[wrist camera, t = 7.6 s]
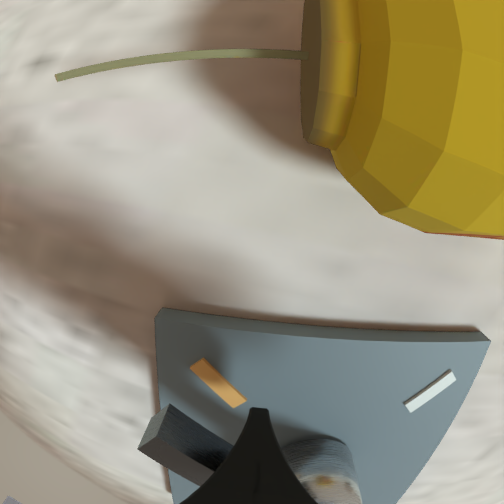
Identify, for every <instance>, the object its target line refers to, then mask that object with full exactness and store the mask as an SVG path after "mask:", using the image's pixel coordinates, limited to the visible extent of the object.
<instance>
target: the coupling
mask: <svg viewBox="0 0 504 504" xmlns="http://www.w3.org/2000/svg"><path fill="white" fill-rule="evenodd" d="M232 448H233V445H232V444H230V443H228V442H227V441H225V440H224V439H222V438H220V437H219V436H217V435H216V434H214V433H212V432H211V431H209V430H208V429H206V428H205V427H203V426H202V425H200V424H199V423H197V422H196V421H194V420H193V419H191V418H190V417H188V416H187V415H186V414H184V413H183V412H181V411H180V410H178V409H177V408H176V407H174V406H173V405H172V404H170V403H169V404H168V405H167V406H166V407H164V408H163V409H162V410H161V411H159V412H158V413H157V414H156V415H154V416H153V417H152V418H151V420H150V422H149V424H148V427H147V429H146V431H145V433H144V435H143V438H142V440H141V442H140V444H139V447H138V450H139V451H141V452H142V453H144V454H145V455H147V456H148V457H150V458H152V459H153V460H155V461H156V462H158V463H160V464H161V465H163V466H164V467H166V468H168V469H170V470H171V471H173V472H175V473H176V474H178V475H180V476H182V477H183V478H185V479H187V480H189V481H191V482H192V483H194V484H196V485H198V486H201V485H202V484H204V483H205V482H206V481H207V480H208V478H209V477H210V476H211V475H212V474H213V473H214V472H215V471H216V470H217V468H218V467H219V466H220V465H221V463H222V462H223V461H224V460H225V458H226V457H227V455H228V454H229V452H230V451H231V449H232ZM281 450H282V452H283V454H284V456H285V458H286V460H287V462H288V464H289V466H290V467H291V469H292V471H293V472H294V474H295V475H296V477H297V478H298V480H299V481H300V483H301V484H302V486H303V487H304V488H305V489H306V491H307V492H308V493H309V494H310V495H311V497H312V498H313V499H314V500H315V501H316V502H317V503H318V504H362V499H361V494H360V489H359V485H358V480H357V475H356V471H355V466H354V462H353V457H352V453H351V451H350V449H349V448H348V447H347V446H346V445H344V444H343V443H341V442H338V441H335V440H329V439H309V440H303V441H299V442H296V443H293V444H290V445H288V446H286V447H284V448H282V449H281Z"/></svg>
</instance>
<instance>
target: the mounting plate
mask: <svg viewBox="0 0 504 504" xmlns="http://www.w3.org/2000/svg"><path fill="white" fill-rule="evenodd" d="M155 341H156V360H157V375H158V388H159V399H160V410H162V409H163V408H164V407H166V406H167V405H168V404H169V403H170V404H172V405H173V406H174V407H176V408H177V409H178V410H180V411H181V412H183V413H184V414H186V415H187V416H188V417H190V418H191V419H193V420H194V421H196V422H197V423H199V424H200V425H202V426H203V427H205V428H206V429H208V430H209V431H211V432H212V433H214V434H216V435H217V436H219V437H220V438H222V439H224V440H225V441H227V442H228V443H230V444H232V445H233V446H234V445H235V443H236V441H237V440H238V438H239V436H240V434H241V432H242V430H243V428H244V426H245V423H246V421H247V418H248V415H249V410H250V408H252V407H257V408H267V409H268V410H269V415H270V420H271V423H272V427H273V430H274V433H275V436H276V438H277V441H278V443H279V445H280V448H281V449H282V448H284V447H286V446H288V445H290V444H293V443H296V442H299V441H303V440H309V439H329V440H335V441H338V442H341V443H343V444H344V445H346V446H347V447H348V448H349V449H350V451H351V453H352V457H353V462H354V466H355V471H356V475H357V480H358V485H359V489H360V494H361V499H362V504H396V503H397V502H398V500H399V499H400V498H401V497H402V495H403V494H404V493H405V492H406V490H407V489H408V488H409V486H410V485H411V484H412V482H413V481H414V480H415V478H416V477H417V476H418V474H419V473H420V472H421V470H422V469H423V467H424V466H425V464H426V463H427V461H428V460H429V459H430V457H431V456H432V454H433V453H434V451H435V449H436V448H437V446H438V445H439V443H440V442H441V440H442V438H443V437H444V435H445V433H446V432H447V430H448V428H449V427H450V425H451V423H452V422H453V420H454V418H455V416H456V414H457V413H458V411H459V409H460V407H461V405H462V403H463V401H464V400H465V398H466V396H467V394H468V392H469V390H470V388H471V386H472V384H473V381H474V379H475V377H476V375H477V373H478V371H479V369H480V366H481V364H482V362H483V359H484V357H485V355H486V352H487V350H488V347H489V345H490V342H491V341H490V340H489V339H488V338H487V337H486V336H485V335H484V334H483V333H482V332H430V331H396V330H374V329H356V328H340V327H326V326H313V325H302V324H291V323H280V322H270V321H261V320H251V319H243V318H234V317H226V316H218V315H210V314H203V313H196V312H189V311H182V310H175V309H168V308H162V309H161V310H160V311H159V313H158V314H157V316H156V317H155ZM168 473H169V479H170V486H171V491H172V497H173V503H174V504H179V503H181V502H182V501H184V500H185V499H186V498H188V497H189V496H190V495H191V494H192V493H193V492H195V491H196V490H197V489H198V488H199V487H200V486H198V485H196V484H194V483H192V482H191V481H189V480H187V479H185V478H183V477H182V476H180V475H178V474H176V473H175V472H173V471H171V470H170V469H168Z"/></svg>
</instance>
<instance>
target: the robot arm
mask: <svg viewBox="0 0 504 504" xmlns="http://www.w3.org/2000/svg"><path fill="white" fill-rule="evenodd" d="M3 504H21V503H20V502H18V501H17V500H15V499H13V498H12V497H10V496H7V498H6V499H5V501H4V502H3ZM179 504H318V503H317V502H316V501H315V500H314V499H313V498H312V497H311V495H310V494H309V493H308V492H307V491H306V489H305V488H304V487H303V486H302V484H301V483H300V481H299V480H298V478H297V477H296V475H295V474H294V472H293V471H292V469H291V467H290V466H289V464H288V462H287V460H286V458H285V456H284V454H283V452H282V450H281V448H280V445H279V443H278V441H277V438H276V436H275V433H274V430H273V427H272V423H271V420H270V415H269V410H268V409H267V408H257V407H252V408H250V410H249V415H248V418H247V421H246V423H245V426H244V428H243V430H242V432H241V434H240V436H239V438H238V440H237V441H236V443H235V445H234V446H233V448H232V449H231V451H230V452H229V454H228V455H227V457H226V458H225V460H224V461H223V462H222V463H221V465H220V466H219V467H218V468H217V470H216V471H215V472H214V473H213V474H212V475H211V476H210V477H209V478H208V480H207V481H206V482H205V483H204V484H202V485H201V486H200V487H199V488H198V489H197V490H196V491H195V492H193V493H192V494H191V495H190V496H189V497H188V498H186V499H185V500H184V501H182V502H181V503H179Z"/></svg>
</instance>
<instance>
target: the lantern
mask: <svg viewBox="0 0 504 504" xmlns="http://www.w3.org/2000/svg"><path fill="white" fill-rule="evenodd" d="M207 58H284V59H300V60H301V92H300V94H301V121H302V129H303V137H304V139H305V140H306V141H307V142H308V143H311V144H315V145H318V146H321V147H325V148H328V149H330V151H331V154H332V157H333V159H334V162H335V165H336V168H337V169H338V171H339V172H340V173H341V174H342V175H343V176H344V178H345V179H346V180H347V181H348V182H349V183H350V184H351V185H352V186H353V187H354V188H355V189H356V190H357V191H358V192H359V193H360V194H361V195H362V196H363V197H364V198H365V199H366V200H367V201H368V202H369V203H370V204H371V206H372V207H373V208H374V209H375V210H376V211H377V212H378V213H379V214H381V215H383V216H386V217H388V218H391V219H393V220H396V221H398V222H401V223H403V224H406V225H408V226H410V227H413V228H415V229H418V230H420V231H422V232H425V233H433V234H445V235H457V236H469V237H480V238H491V239H502V240H504V0H305V2H304V11H303V25H302V43H301V51H292V50H272V49H217V50H198V51H184V52H173V53H164V54H155V55H147V56H140V57H134V58H127V59H121V60H116V61H111V62H105V63H100V64H96V65H91V66H87V67H82V68H78V69H74V70H70V71H66V72H62V73H59V74H55V78H56V80H57V82H58V81H62V80H66V79H70V78H74V77H78V76H83V75H87V74H92V73H96V72H101V71H106V70H112V69H117V68H123V67H130V66H136V65H143V64H151V63H159V62H168V61H179V60H191V59H207Z"/></svg>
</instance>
